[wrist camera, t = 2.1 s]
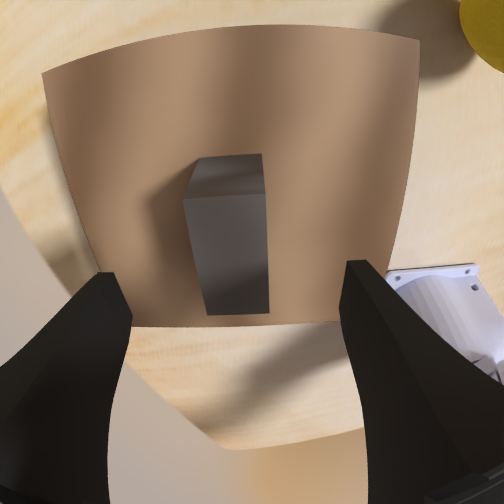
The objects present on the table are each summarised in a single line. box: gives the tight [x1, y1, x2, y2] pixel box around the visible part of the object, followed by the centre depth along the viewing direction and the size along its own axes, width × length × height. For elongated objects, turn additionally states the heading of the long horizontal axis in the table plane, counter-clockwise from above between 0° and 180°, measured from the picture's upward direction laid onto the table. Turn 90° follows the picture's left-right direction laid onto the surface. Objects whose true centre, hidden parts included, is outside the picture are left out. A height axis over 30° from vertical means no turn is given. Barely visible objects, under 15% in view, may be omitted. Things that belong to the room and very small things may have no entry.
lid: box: [42, 25, 420, 327], centre depth 12 cm, size 15×15×4 cm
